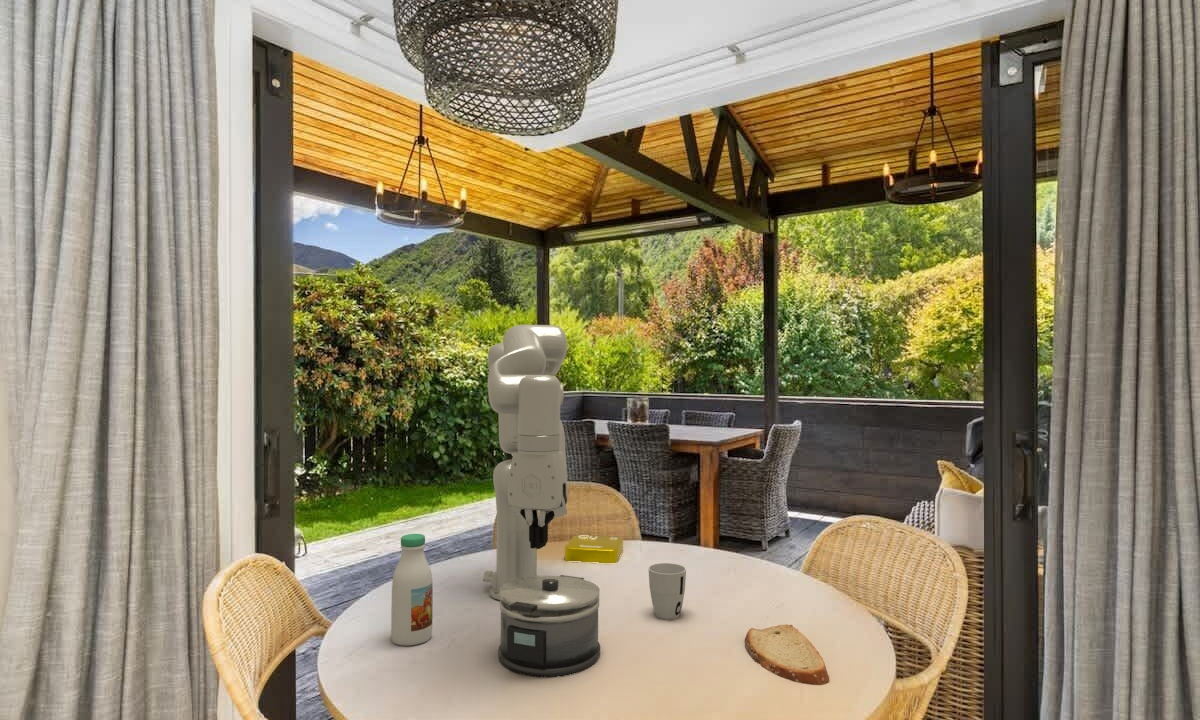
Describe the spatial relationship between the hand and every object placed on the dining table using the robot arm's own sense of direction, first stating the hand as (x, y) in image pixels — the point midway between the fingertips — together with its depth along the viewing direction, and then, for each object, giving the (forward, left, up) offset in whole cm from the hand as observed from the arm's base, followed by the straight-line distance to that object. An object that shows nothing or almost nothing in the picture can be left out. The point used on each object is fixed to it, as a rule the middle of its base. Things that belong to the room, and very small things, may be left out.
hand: (538, 546), depth 114 cm
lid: (0, +4, -10) cm, 11 cm away
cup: (+15, +32, -21) cm, 41 cm away
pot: (0, +6, -21) cm, 22 cm away
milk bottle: (-28, +1, -21) cm, 35 cm away
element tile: (-17, +69, -22) cm, 74 cm away
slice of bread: (+41, +20, -21) cm, 51 cm away
